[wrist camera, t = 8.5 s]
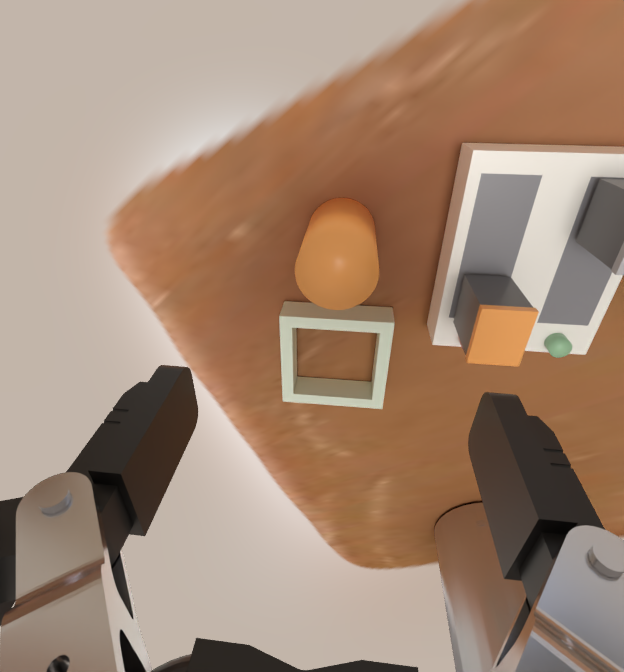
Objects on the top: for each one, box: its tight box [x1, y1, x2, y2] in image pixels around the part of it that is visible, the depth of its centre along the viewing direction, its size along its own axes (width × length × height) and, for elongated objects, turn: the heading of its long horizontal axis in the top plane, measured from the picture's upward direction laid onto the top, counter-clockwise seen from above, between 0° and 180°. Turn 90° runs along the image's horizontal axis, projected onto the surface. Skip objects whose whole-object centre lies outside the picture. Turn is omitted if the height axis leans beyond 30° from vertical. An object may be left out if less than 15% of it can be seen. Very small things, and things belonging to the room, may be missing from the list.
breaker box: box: [427, 143, 624, 358], centre depth 22 cm, size 11×9×3 cm
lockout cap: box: [295, 198, 379, 310], centre depth 22 cm, size 4×4×6 cm
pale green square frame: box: [279, 301, 395, 409], centre depth 28 cm, size 7×7×2 cm
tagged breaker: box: [453, 274, 539, 366], centre depth 21 cm, size 3×2×4 cm
